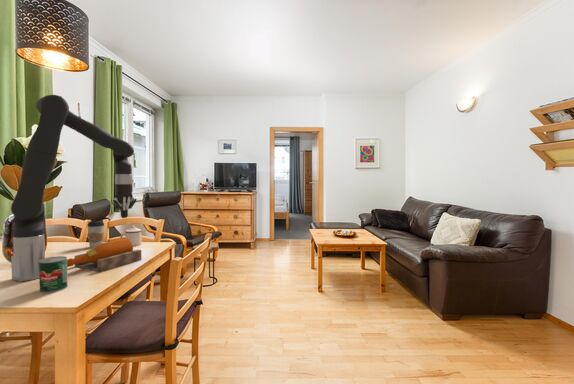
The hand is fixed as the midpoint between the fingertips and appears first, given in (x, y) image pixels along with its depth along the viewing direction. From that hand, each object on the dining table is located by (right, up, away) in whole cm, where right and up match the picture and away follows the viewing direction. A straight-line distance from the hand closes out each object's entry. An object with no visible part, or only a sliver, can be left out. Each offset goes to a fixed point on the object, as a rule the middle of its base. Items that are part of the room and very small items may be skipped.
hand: (124, 217), depth 139 cm
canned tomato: (-3, -23, -38) cm, 44 cm away
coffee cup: (-31, -20, +25) cm, 45 cm away
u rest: (-3, -21, -7) cm, 22 cm away
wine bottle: (+1, -15, +2) cm, 15 cm away
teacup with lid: (-14, -20, +30) cm, 39 cm away
